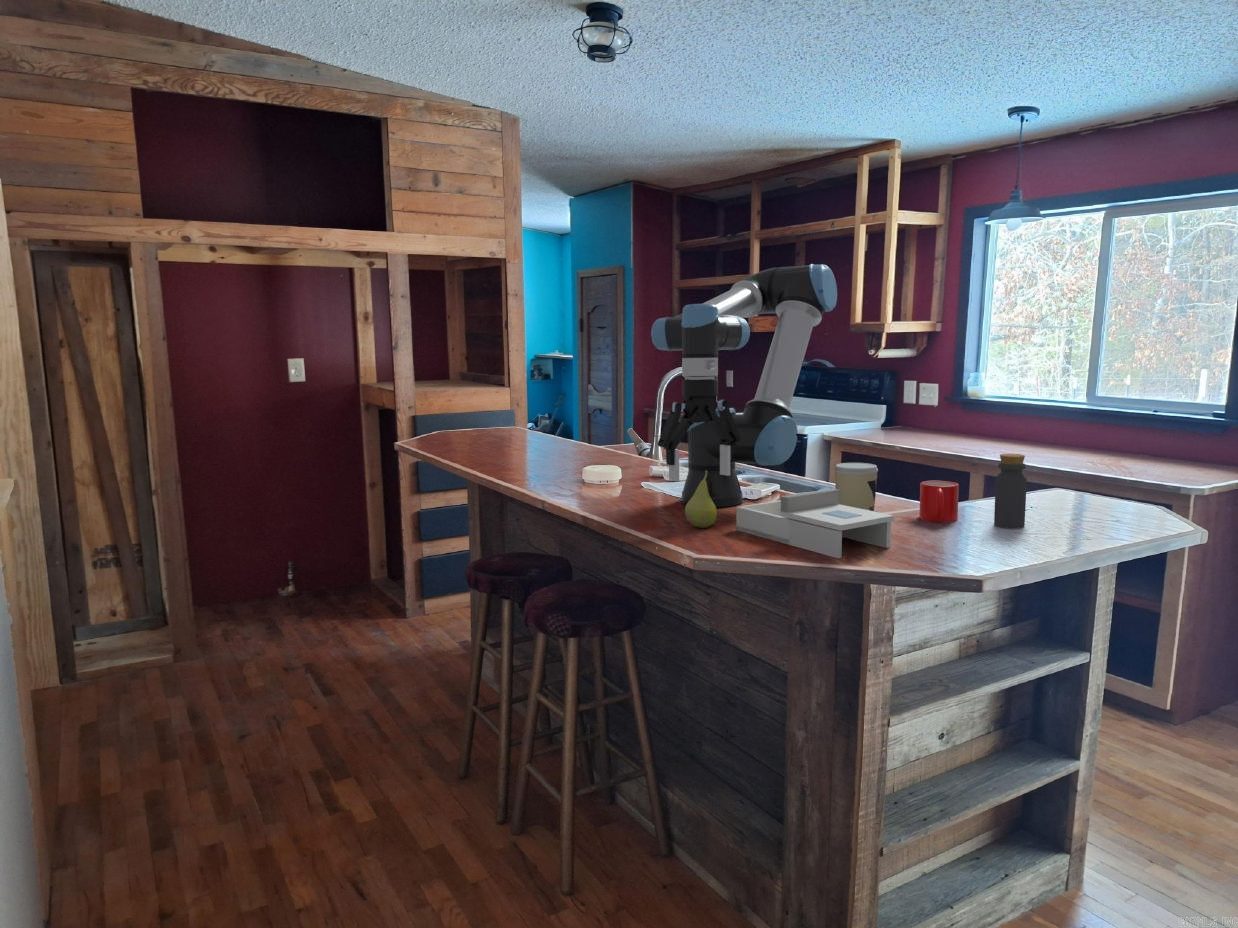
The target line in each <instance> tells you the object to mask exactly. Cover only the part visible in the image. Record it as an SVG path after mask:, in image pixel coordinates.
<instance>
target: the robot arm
mask: <svg viewBox="0 0 1238 928" xmlns="http://www.w3.org/2000/svg"><path fill="white" fill-rule="evenodd" d="M836 281H837V280H836V278H835V275H834V273H833V271H832V269H831V268H830V267H829V266H828V265H826V264H824V263H823V264H813V263H811V264H810V263H809V264H808V265H797V266H796V265H795V266H794V265H793V266H781V267H780V266H779V267H771V268H767V269H764V270H760V271H759V272H755V273H754V274H751V275H749V276H747V277H745V278H743V279H741V280H739V281H737V282H734V284H733V285H732V286H731V288H730V290H728V291H726V292H723V293H721V294H720V295H718V296H716V297H713V298H711V299H709V300H707V301H705V302H703V303H692V304H686V305H684V306H683V307H682V313H680V314H678V315H676V316H671V317H670V316H666V317H661V318H657V319H656V320H655V321H654V322H653V324H652V326H651V331H650V336H651V341H652V344H653V346H654V347H655V348H656V349H658V351H659V350H660V351H668V352H672V351H673V352H674V351H676V352H677V351H682V357H681V359H682V360H681V361H682V362H681V376H682V378H684V379H683V380H682V381H681V388H682V389H681V393H682V394H681V395H682V397H683V401H682V402H680V401H679V402H678V401H677V402H676V401H672V402H671V403H670V406H669V407H670V408H669V414H668V416H667V419H666V421H665V424H664V426H663V429H662V431H661V434H660V436H659V439H658V442H657V446H658V447H659V448H662V449H664V450H665V463H666V465H668V480H669V481H674V482H680V450H679V449H677V447H678V446H679V445H680V443H681V442H682V439H683V438H684V436H685V435H686V434H687V460H688V461H687V462H688V463H687V465H688V466H687V467H688V472H687V475H686V479H685V482H684V485H683V490H682V491H681V503H682V504H683V505H685V506H686V505H687V503H688V502H689V500H690V499H691V498H692V496H693V495H694V493H695V491H696V489H697V487H698V486H699V484H700V482H701V481H702V480H703V479H704V477H705V471H706V470H707V476H706V483H707V489H708V493H709V496H710V498H711V499H712V501H713V503H714V504H715V506H716V508H724V507H732V506H738V505H741V504H743V502H744V499H743V491H742V489H741V485H740V481H739V479H738V475H737V472H736V471H737V470H736V463H737V464H739V463H740V464H750V465H760V466H764V467H765V466H778V465H782V464H783V463H785V462H787V461H788V460H789V459H790V457H791V456H792V455H793V452H794V450H795V448H796V446H797V442H798V436H797V434H798V425H797V423H796V421H795V419H794V415H793V413H792V411H791V410H790V406H791V403H792V400H793V396H794V393H795V389H796V388H797V387H796V386H797V382H798V379H799V376H800V372H801V369H802V365H803V362H804V359H805V355H806V352H807V349H808V346H809V341H810V338H811V335H812V331H813V327H816V326H818V325H820V324H821V321H822V319H823V316H824V313H825V312H826V313H829V312H832V311H833V310H834V309H835V308H836V305H837V300H838V288H837V287H838V285H837V282H836ZM763 314H765V315H766V314H768V315H769V314H776V316H777V317H778V320H777V321H778V322H777V324H776V327H775V330H774V335H773V337H772V341H771V344H770V347H769V349H768V353H767V356H766V359H765V363H764V366H763V369H762V373H761V376H760V380H759V382H758V387H757V389H756V393H755V396H754V398H753V399H750V400H749V401H747V402H746V404H745V406H744V410H743V413H742V414H737V412H736V409H735V408H734V407H730V401H729V400H728V399H718V400H717V396H718V394H719V391H718V390H719V381H718V379H717V378H716V377H718V375H719V368H718V366H719V364H718V363H719V358H718V356H719V354H718V352H719V351H723V350H724V351H726V350H727V351H735V350H739V349H741V348H743V347H744V346H745V345H746V344H747V343H748V341H749V339H750V336H751V329H750V325H749V323H748V322H747V320H746V319H747V318H753V317H755V316H757V315H763ZM745 318H746V319H745ZM683 412H684V413H683ZM682 413H683V415H682ZM681 415H682V416H681ZM679 421H680V422H679Z"/></svg>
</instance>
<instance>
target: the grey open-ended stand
mask: <svg viewBox="0 0 1238 928" xmlns="http://www.w3.org/2000/svg"><path fill="white" fill-rule="evenodd" d="M891 525H892V521H890V522H884V523H879V524H874V525H868V526H863V527H858V528H852V529H847V530H842V531H840V530H836V529H832V528H828V527H824V526H819V525H815V524H811V523H807V522H803V521H799V520H794V519H790V518H786V517H782V516H781V499H779V500H773V501H766V502H760V503H754V504H748V505H740V506H736V531H739V532H742V533H746V534H750V535H752V536H757V537H760V538H763V539H768V540H771V541H774V542H778V543H781V544H785V545H788V546H792V547H796V548H799V549H804V550H805V551H806V550H807V551H810V552H814V553H818V554H822V555H824V556H827V557H831V558H835V559H840V558H842V555H843V554H842V549H843V548H842V547H843V544H842V543H843V538H845V539H849V540H853V541H858V542H861V543H864V544H868V545H873V546H876V547H877V546H878V547H881V548H885V549H887V548H888V549H889V548H891V535H892V534H891V532H892V526H891Z"/></svg>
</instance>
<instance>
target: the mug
mask: <svg viewBox="0 0 1238 928" xmlns="http://www.w3.org/2000/svg"><path fill="white" fill-rule="evenodd" d="M959 485H960V484H959V483H957V482H953V481H946V480H926V481H921V482H920V484H919V488H920V489H919V492H920V493H919V520H922V521H925V520H926V521H927V522H931V523H952V522H956V521H958V518H959V517H958V516H959V491H960V490H959V487H960V486H959Z"/></svg>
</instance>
